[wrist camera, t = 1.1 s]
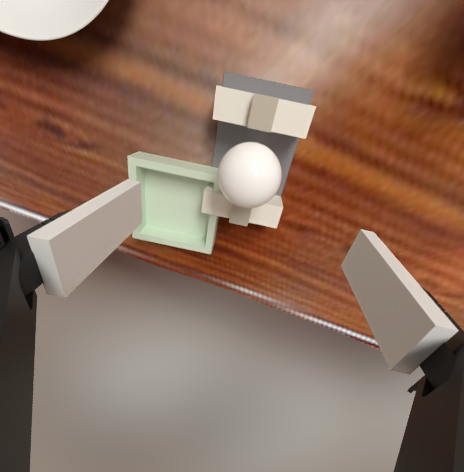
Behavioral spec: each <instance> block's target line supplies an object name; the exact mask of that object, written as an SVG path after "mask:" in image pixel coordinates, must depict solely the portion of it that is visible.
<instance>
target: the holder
mask: <svg viewBox="0 0 464 472" xmlns="http://www.w3.org/2000/svg"><path fill="white" fill-rule="evenodd" d="M313 91H314V90H309V89H304V88H300V87H295V86H290V85H285V84H281V83H276V82H271V81H266V80H262V79H257V78H252V77H247V76H243V75H238V74H233V73H228V72H224V79H223V87H222V86H216V94H215V102H214V111H213V119H214V120H218V125H217V133H216V140H215V148H214V155H213V163H212V167H215V168H218V166H219V163H220V161H221V159H222V157H223V156H224V155H225V153H226V152H227V151H228V150H229V149H231V148H232V147H234V146H235V145H237V144H240V143H244V142H257V143H260V144H263V145H265V146H267V147H268V148H270V149H271V150H272V151H273V152H274V153H275V155H276V156H277V158H278V160H279V162H280V165H281V170H282V180H281V184H280V187H279V189H278V191H277V193H276V195H275V196H274V197H273V198H272V199H271V200H270V201H269V202H268V203H266V204H264V205H262V206H260V207H257V208H250V209H248V208H241V207H238V206H236V205H234V204H232V203H231V202H229V201H228V200H227V199H226V198H225V197H224V195H223V194H222V192H220V191H215V190H213V188H214V183H209V184H208V185H207V187H206V188H205V190H204V195H203V203H202V211H201V213H206V214H211V215H216V216H220V217H225V218H230V219H229V223H232V224H237V225H242V226H248V222H249V223H253V224H258V225H263V226H268V227H272V228H277V225H278V222H279V219H280V216H281V213H282V210H283V204H282V200H281V194H282V191H283V188H284V184H285V181H286V178H287V175H288V171H289V168H290V165H291V162H292V159H293V155H294V152H295V149H296V146H297V142H298V139H299V138H304V139H306V136H307V133H308V130H309V127H310V124H311V121H312V118H313V115H314V112H315V108H316V106H312V105H309V104H310V101H311V97H312V94H313Z"/></svg>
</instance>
